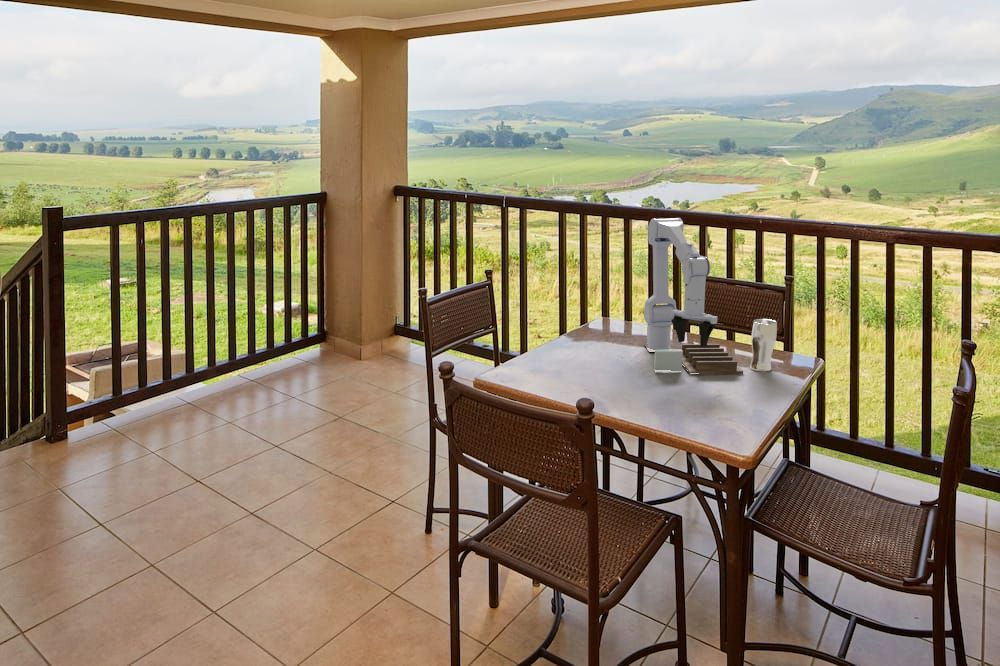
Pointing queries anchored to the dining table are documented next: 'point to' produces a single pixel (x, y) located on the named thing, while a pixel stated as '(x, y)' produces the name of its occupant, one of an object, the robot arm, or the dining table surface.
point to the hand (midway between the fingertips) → (692, 343)
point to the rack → (708, 360)
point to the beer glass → (763, 344)
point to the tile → (668, 359)
